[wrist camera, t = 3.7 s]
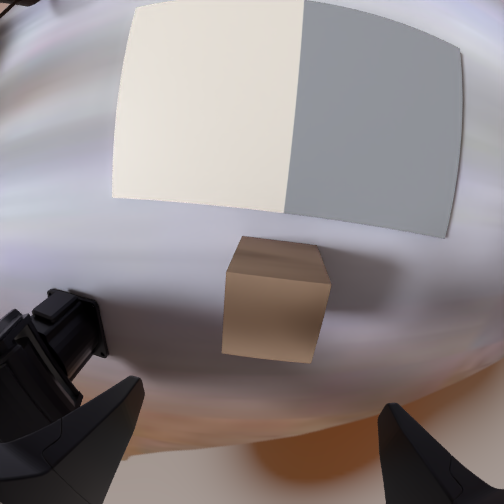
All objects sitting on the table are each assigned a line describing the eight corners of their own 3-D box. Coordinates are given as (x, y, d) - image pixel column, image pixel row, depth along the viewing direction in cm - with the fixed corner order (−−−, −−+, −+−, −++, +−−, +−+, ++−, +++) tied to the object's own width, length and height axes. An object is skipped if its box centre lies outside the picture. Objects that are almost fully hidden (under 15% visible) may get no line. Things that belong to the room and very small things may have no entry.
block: (304, 309, 20) (310, 363, 15) (236, 301, 21) (221, 353, 15) (316, 245, 19) (331, 284, 13) (242, 235, 19) (226, 271, 13)
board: (440, 236, 17) (444, 238, 17) (116, 196, 19) (112, 197, 18) (455, 50, 12) (459, 48, 12) (139, 10, 14) (136, 7, 13)
